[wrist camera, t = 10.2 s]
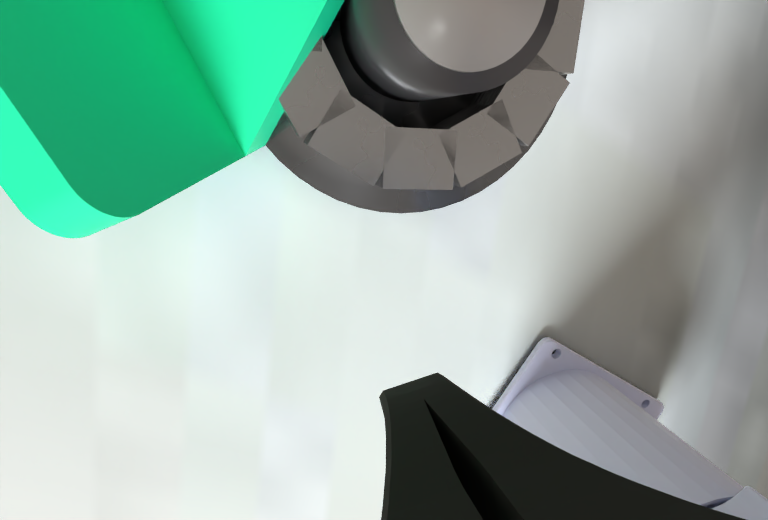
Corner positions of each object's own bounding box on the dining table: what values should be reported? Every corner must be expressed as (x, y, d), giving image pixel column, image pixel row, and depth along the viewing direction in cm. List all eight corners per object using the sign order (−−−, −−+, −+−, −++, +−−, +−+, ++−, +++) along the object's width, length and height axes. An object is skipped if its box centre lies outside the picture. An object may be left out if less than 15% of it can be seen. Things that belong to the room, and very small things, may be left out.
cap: (503, 6, 16) (602, -44, 11) (429, 129, 17) (493, 131, 12) (389, -94, 15) (448, -203, 10) (312, 47, 15) (331, 10, 10)
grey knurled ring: (619, -10, 18) (682, -35, 15) (444, 262, 20) (472, 285, 17) (344, -297, 14) (363, -405, 11) (146, 87, 15) (118, 79, 12)
